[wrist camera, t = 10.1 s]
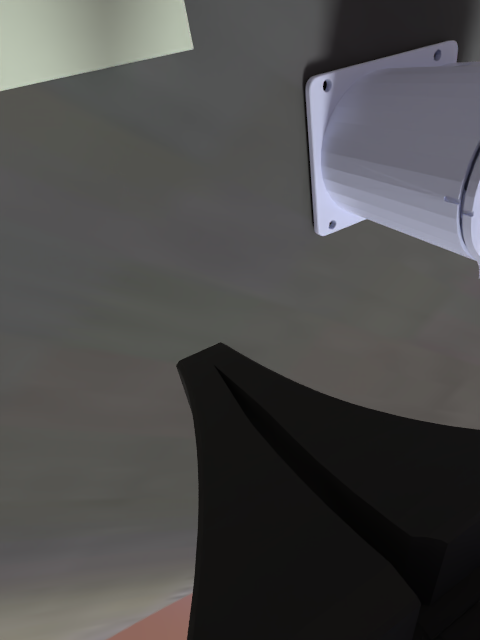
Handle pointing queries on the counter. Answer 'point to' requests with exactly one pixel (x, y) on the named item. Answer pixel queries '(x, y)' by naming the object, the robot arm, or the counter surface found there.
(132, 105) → the counter surface
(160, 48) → the sage board
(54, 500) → the counter surface
